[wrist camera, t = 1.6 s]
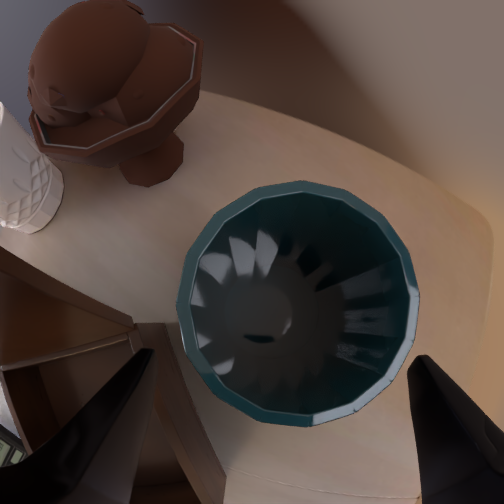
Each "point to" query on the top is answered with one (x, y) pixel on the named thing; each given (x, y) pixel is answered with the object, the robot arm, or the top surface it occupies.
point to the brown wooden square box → (160, 424)
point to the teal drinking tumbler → (298, 304)
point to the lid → (48, 313)
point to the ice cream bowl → (114, 89)
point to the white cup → (25, 179)
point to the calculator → (10, 448)
